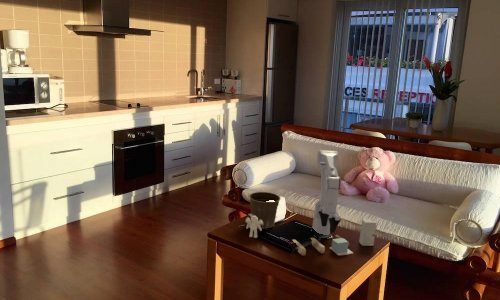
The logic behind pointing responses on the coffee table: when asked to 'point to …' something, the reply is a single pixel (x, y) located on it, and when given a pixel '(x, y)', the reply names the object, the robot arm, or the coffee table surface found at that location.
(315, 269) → the coffee table surface
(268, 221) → the plant pot
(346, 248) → the block
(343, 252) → the coaster
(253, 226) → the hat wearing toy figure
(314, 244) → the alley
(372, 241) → the skincare box
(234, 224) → the coffee table surface
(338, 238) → the dowel
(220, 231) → the coffee table surface
